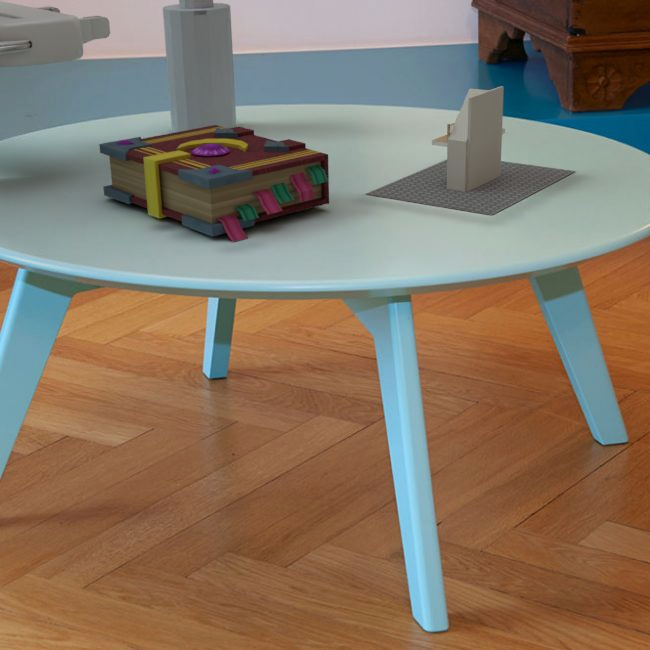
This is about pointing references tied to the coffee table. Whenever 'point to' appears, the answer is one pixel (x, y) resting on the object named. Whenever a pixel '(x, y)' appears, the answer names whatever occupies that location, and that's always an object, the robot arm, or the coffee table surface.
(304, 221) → the coffee table surface
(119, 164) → the decorative book
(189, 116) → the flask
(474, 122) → the architectural model
